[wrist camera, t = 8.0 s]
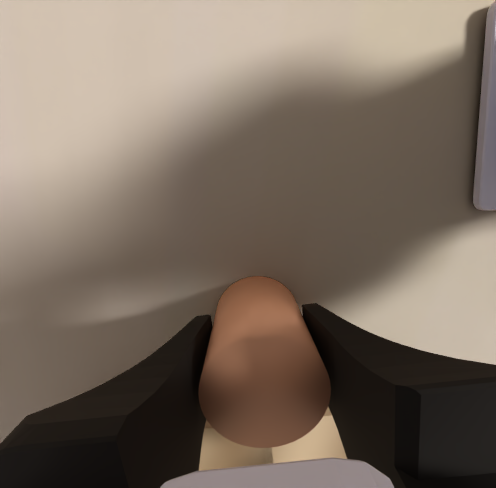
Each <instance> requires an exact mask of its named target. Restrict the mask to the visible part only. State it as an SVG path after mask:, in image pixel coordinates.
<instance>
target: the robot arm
mask: <svg viewBox="0 0 496 488" xmlns="http://www.w3.org/2000/svg"><path fill="white" fill-rule="evenodd" d="M473 204H474V206H475V208H477V209H479V210H487V211H492V210H496V1H495V2H494V3H492V4H491V6H490V7H489V9H488V13H487V19H486V33H485V46H484V59H483V73H482V86H481V99H480V113H479V126H478V139H477V153H476V166H475V179H474V193H473ZM302 311H303V319H304V321H305V323H306V325H307V328H308V330H309V332H310V334H311V337H312V339H313V341H314V343H315V345H316V348H317V350H318V352H319V354H320V357H321V359H322V361H323V363H324V366H325V368H326V370H327V372H328V375H329V379H330V385H331V396H330V402H329V405H328V407H329V409H330V412H331V414H332V416H333V419H334V422H335V424H336V427H337V429H338V432H339V435H340V438H341V442H342V445H343V448H344V451H345V454H346V457H347V459H342V458H333V457H331V458H321V459H311V460H302V461H292V462H282V463H272V464H262V465H252V466H242V467H232V468H222V469H212V470H202V471H199V464H200V455H201V447H202V439H203V433H204V428H205V423H206V418H205V416H204V414H203V412H202V410H201V406H200V403H199V395H198V392H199V383H200V378H201V374H202V370H203V366H204V361H205V357H206V353H207V349H208V344H209V340H210V336H211V331H212V321H211V315H203V316H197V317H195V318H194V319H193V320H192V321H190V322H189V323H188V324H187V325H186V326H185V327H184V328H183V329H182V330H181V331H179V332H178V333H177V334H176V335H175V336H174V337H173V338H172V339H170V340H169V341H168V342H167V343H165V344H164V345H163V346H162V347H161V348H159V349H158V350H157V351H156V352H154V353H153V354H152V355H150V356H149V357H147V358H146V359H144V360H143V361H141V362H140V363H138V364H137V365H135V366H134V367H132V368H131V369H129V370H127V371H125V372H124V373H122V374H120V375H118V376H116V377H115V378H113V379H111V380H109V381H108V382H106V383H104V384H102V385H100V386H98V387H96V388H94V389H92V390H89V391H87V392H85V393H83V394H81V395H78V396H76V397H74V398H72V399H69V400H67V401H64V402H62V403H59V404H57V405H54V406H51V407H49V408H46V409H44V410H41V411H39V412H36V413H33V414H30V415H27V416H26V417H25V418H24V419H23V420H22V422H21V423H20V424H19V425H18V426H17V427H16V428H15V429H14V430H13V431H12V432H11V433H10V434H9V435H8V436H7V437H6V438H5V439H4V441H3V442H2V443H1V444H0V488H496V365H493V364H486V363H480V362H474V361H467V360H461V359H456V358H451V357H447V356H442V355H438V354H433V353H429V352H425V351H422V350H418V349H414V348H411V347H408V346H405V345H401V344H398V343H395V342H392V341H390V340H387V339H384V338H382V337H379V336H377V335H374V334H372V333H370V332H367V331H365V330H363V329H361V328H359V327H357V326H355V325H353V324H351V323H349V322H348V321H346V320H344V319H342V318H340V317H339V316H337V315H335V314H334V313H332V312H330V311H329V310H327V309H325V308H324V307H322V306H320V305H318V304H316V303H315V304H305V305H302Z"/></svg>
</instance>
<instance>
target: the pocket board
mask: <svg viewBox="0 0 496 488" xmlns="http://www.w3.org/2000/svg"><path fill="white" fill-rule="evenodd" d="M331 457H333V458H342V459H347V457H346V454H345V451H344V448H343V445H342V442H341V438H340V435H339V432H338V429H337V427H336V424H335V422H334V419H333V416H332V414H331V412H330V409H329V407H328V408H327V410H326V412H325V414H324V416H323V418H322V419H321V421H320V422H319V423H318V424H317V425H316V427H315V428H314V429H312V430H311V431H310V432H309V433H308V434H306V435H305V436H303V437H302V438H300V439H298V440H296V441H294V442H292V443H289V444H286V445H282V446H278V447H272V448H254V447H248V446H244V445H240V444H237V443H235V442H232V441H230V440H229V439H227V438H225V437H223V436H222V435H221V434H219V433H218V432H217V431H216V430H215V429H214V428H213V427H212V426H211V425H210V424H209V423H208V421H207V420H206V423H205V428H204V433H203V439H202V447H201V455H200V464H199V471H202V470H212V469H222V468H232V467H242V466H252V465H262V464H272V463H282V462H292V461H302V460H311V459H321V458H331Z"/></svg>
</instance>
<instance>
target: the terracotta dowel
mask: <svg viewBox="0 0 496 488" xmlns="http://www.w3.org/2000/svg"><path fill="white" fill-rule="evenodd" d="M198 395H199V403H200V406H201V410H202V412H203V414H204V416H205V418H206V420H207V421H208V423H209V424H210V425H211V426H212V427H213V428H214V429H215V430H216V431H217V432H218V433H219V434H221V435H222V436H223V437H225V438H227V439H229V440H230V441H232V442H235V443H237V444H240V445H244V446H248V447H254V448H272V447H278V446H282V445H286V444H289V443H292V442H294V441H296V440H298V439H300V438H302V437H303V436H305V435H306V434H308V433H309V432H310V431H311V430H312V429H314V428H315V427H316V425H317V424H318V423H319V422H320V421H321V419H322V418H323V416H324V414H325V412H326V410H327V408H328V405H329V402H330V396H331V385H330V379H329V375H328V372H327V370H326V368H325V366H324V363H323V361H322V359H321V357H320V354H319V352H318V350H317V348H316V345H315V343H314V341H313V339H312V337H311V334H310V332H309V330H308V328H307V325H306V323H305V321H304V319H303V316H302V314H301V312H300V310H299V308H298V305H297V303H296V301H295V299H294V297H293V295H292V293H291V292H290V291H289V290H288V288H287V287H285V286H284V285H283V284H282V283H280V282H278V281H276V280H274V279H271V278H268V277H263V276H252V277H247V278H244V279H241V280H239V281H237V282H235V283H233V284H232V285H231V286H230V287H228V288H227V289H226V290H225V292H224V293H223V294H222V296H221V298H220V300H219V303H218V306H217V310H216V314H215V319H214V323H213V327H212V331H211V336H210V340H209V344H208V349H207V353H206V357H205V361H204V366H203V370H202V374H201V378H200V383H199V392H198Z"/></svg>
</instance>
